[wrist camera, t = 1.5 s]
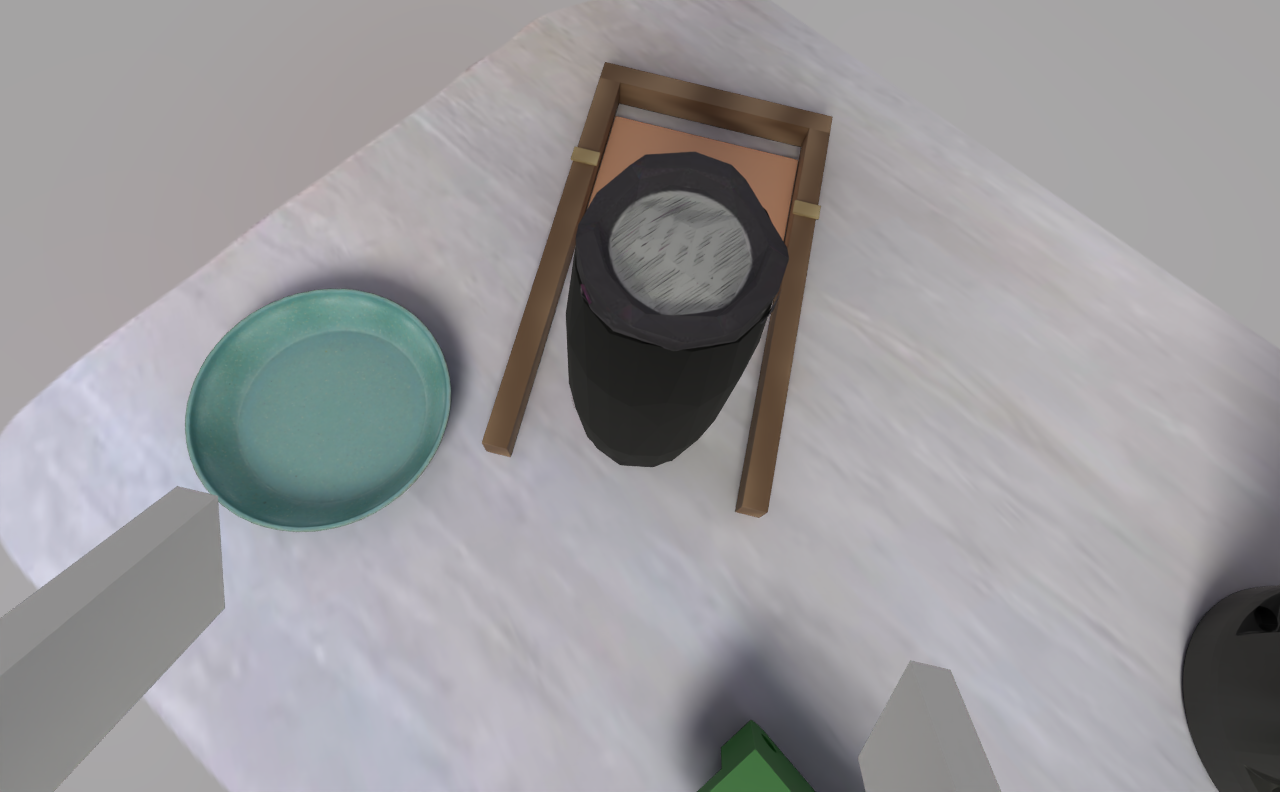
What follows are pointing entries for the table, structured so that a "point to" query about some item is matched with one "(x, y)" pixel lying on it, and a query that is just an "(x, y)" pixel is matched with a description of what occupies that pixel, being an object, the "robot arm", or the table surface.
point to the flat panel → (759, 168)
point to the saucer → (318, 410)
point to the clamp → (755, 766)
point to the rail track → (561, 242)
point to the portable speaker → (667, 302)
